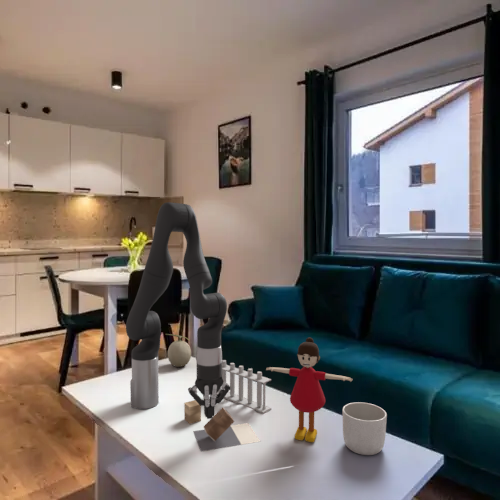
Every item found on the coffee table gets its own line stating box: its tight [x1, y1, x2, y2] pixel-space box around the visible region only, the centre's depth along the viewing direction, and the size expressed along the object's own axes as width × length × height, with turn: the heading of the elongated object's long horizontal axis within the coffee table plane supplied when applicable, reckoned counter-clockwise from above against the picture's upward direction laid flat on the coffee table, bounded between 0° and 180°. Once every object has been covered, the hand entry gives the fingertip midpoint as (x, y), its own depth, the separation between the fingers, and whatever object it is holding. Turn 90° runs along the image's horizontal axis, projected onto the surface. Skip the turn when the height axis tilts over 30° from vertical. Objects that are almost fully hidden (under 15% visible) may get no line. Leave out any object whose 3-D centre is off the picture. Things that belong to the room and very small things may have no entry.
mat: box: [193, 422, 261, 452], centre depth 128 cm, size 18×12×1 cm, turn 108°
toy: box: [265, 336, 353, 443], centre depth 129 cm, size 27×11×30 cm, turn 70°
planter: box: [342, 401, 388, 456], centre depth 122 cm, size 12×12×11 cm
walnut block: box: [203, 407, 235, 441], centre depth 127 cm, size 4×4×8 cm
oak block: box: [183, 399, 202, 425], centre depth 138 cm, size 4×4×6 cm
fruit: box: [165, 333, 192, 368], centre depth 191 cm, size 10×12×15 cm
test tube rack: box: [216, 359, 272, 415], centre depth 153 cm, size 25×4×13 cm, turn 48°
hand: (209, 417), depth 126 cm, fingers closed
